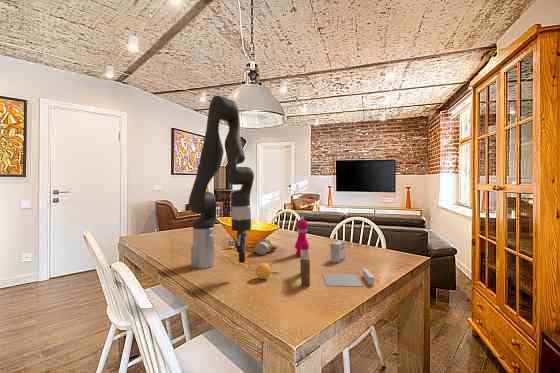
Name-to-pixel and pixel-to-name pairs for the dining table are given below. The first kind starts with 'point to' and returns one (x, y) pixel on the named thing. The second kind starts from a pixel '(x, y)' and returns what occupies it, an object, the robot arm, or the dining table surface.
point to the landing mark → (342, 280)
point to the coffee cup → (231, 243)
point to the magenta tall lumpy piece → (301, 236)
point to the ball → (263, 271)
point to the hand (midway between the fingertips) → (242, 262)
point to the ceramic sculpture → (264, 246)
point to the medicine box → (337, 251)
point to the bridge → (305, 268)
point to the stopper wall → (368, 277)
